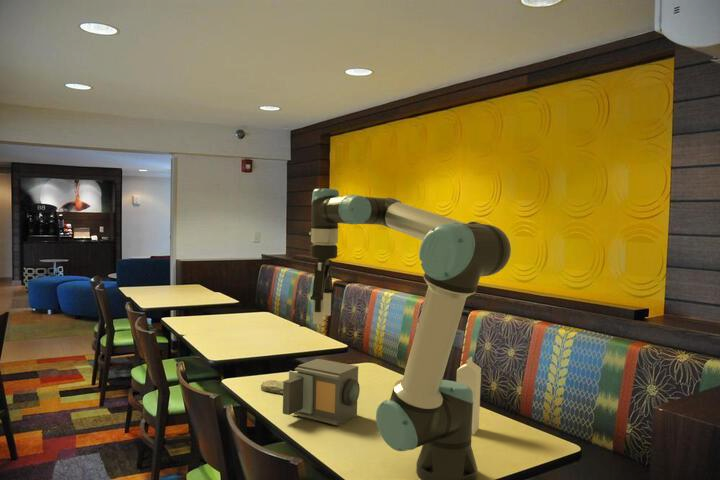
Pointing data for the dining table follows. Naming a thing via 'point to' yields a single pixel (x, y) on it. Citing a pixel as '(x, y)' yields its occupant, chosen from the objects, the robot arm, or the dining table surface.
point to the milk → (472, 387)
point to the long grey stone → (273, 386)
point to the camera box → (332, 391)
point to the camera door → (298, 393)
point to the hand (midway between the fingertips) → (322, 319)
